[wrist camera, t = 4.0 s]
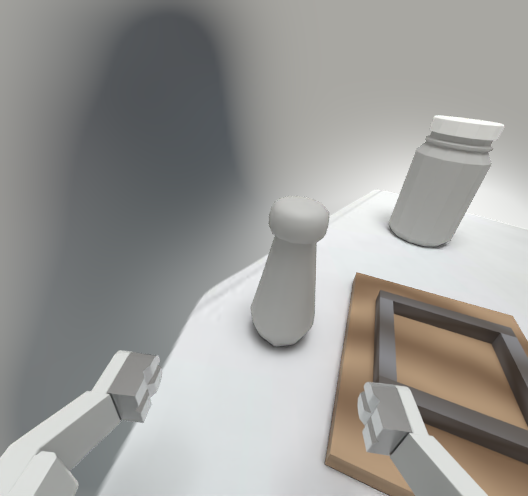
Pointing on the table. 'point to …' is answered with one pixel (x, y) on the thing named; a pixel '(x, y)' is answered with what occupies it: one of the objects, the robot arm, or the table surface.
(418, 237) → the jar
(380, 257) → the table surface
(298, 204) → the salt shaker
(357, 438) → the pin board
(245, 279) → the table surface
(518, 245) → the table surface
